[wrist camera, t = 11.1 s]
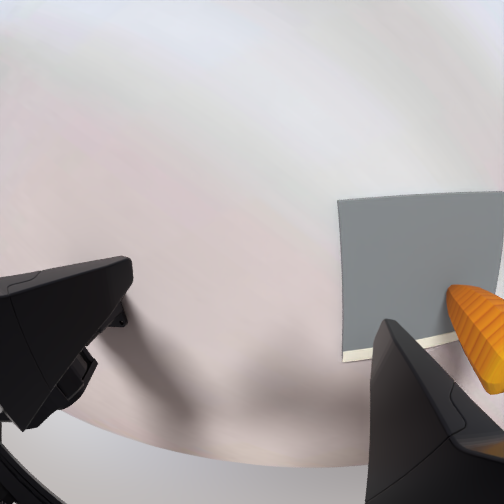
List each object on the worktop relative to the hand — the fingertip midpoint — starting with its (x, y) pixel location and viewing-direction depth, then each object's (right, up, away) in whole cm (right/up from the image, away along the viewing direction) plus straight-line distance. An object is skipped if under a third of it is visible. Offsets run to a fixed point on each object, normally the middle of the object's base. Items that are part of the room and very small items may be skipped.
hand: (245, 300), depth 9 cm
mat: (+15, -1, +11) cm, 19 cm away
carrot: (+17, -1, +11) cm, 20 cm away
